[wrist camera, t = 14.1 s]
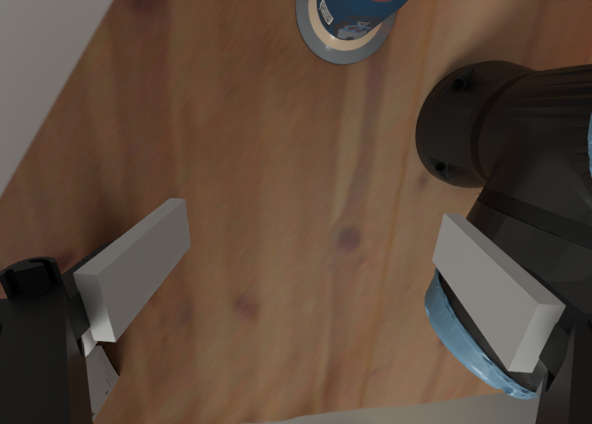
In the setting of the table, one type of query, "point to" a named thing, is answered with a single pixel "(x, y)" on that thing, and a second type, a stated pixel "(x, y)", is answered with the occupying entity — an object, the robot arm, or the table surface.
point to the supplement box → (99, 378)
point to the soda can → (354, 16)
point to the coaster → (334, 47)
